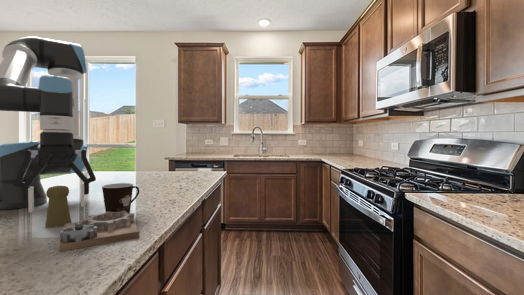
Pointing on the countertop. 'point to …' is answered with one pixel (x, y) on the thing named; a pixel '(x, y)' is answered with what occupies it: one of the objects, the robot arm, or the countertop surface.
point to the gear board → (105, 229)
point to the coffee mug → (118, 197)
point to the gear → (78, 233)
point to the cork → (57, 207)
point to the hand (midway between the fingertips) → (58, 208)
